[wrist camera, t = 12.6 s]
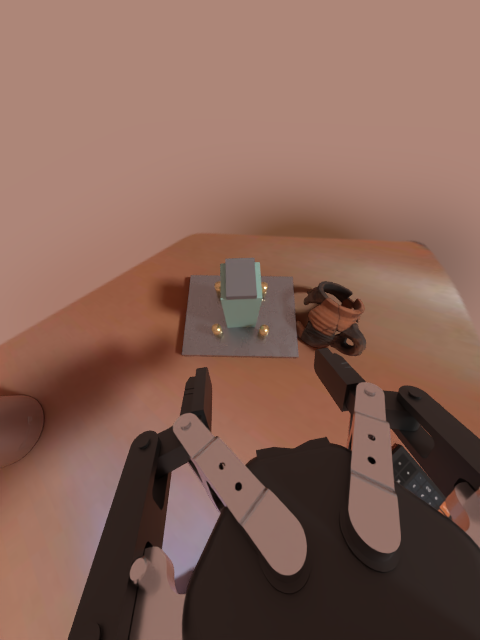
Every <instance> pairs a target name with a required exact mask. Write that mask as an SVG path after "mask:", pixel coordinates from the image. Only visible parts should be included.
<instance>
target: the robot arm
mask: <svg viewBox="0 0 480 640" xmlns="http://www.w3.org/2000/svg"><path fill="white" fill-rule="evenodd" d="M314 369H315V372H316V374H317V376H318V377H319V379H320V380H321V382H322V383H323V384H324V386H325V387H326V389H327V390H328V392H329V393H330V395H331V396H332V398H333V399H334V401H335V402H336V404H337V405H338V407H339V408H340V410H341V411H342V412H343V411H349V412H350V421H349V430H348V440H347V447H346V448H345V447H343V446H340V445H337V444H333V443H330V442H329V440H328V439H327V437H325V438H319V439H314V440H309V441H307V442H305V443H304V444H302V445H300V446H298V447H296V448H293V449H290V448H279V447H271V448H266V449H261V450H256V454H257V457H255V458H253V459H252V460H250V461H249V462H248V463H247V464H246V465H244V464H243V463H242V462H241V460H240V459H239V458H238V457H237V456H236V455H235V454H234V453H233V452H232V451H231V449H230V448H229V447H228V446H227V445H226V444H225V443H224V442H223V441H222V440H221V439H220V438H219V437H218V436H216V437H215V436H214V435H213V434H212V433H211V421H212V384H211V380H210V376H209V372H208V368H207V367H204V368H198V369H196V376H195V377H190V378H189V380H188V381H187V382H186V386H185V391H184V397H183V402H182V407H181V413H180V417H179V418H177V420H176V421H175V423H174V425H173V426H172V427H170V428H169V429H167V430H165V431H163V432H160V433H158V434H157V433H156V432H154V431H146V432H144V433H142V434H140V435H139V436H138V437H137V438H136V439H135V440H134V441H133V443H132V444H131V447H130V450H129V453H128V456H127V459H126V462H125V465H124V468H123V471H122V475H121V478H120V481H119V484H118V487H117V490H116V493H115V496H114V499H113V502H112V505H111V508H110V511H109V514H108V517H107V520H106V524H105V527H104V530H103V533H102V536H101V539H100V542H99V545H98V548H97V551H96V554H95V557H94V560H93V563H92V566H91V569H90V573H89V576H88V579H87V582H86V585H85V588H84V591H83V594H82V597H81V600H80V603H79V606H78V609H77V612H76V615H75V618H74V622H73V625H72V628H71V631H70V634H69V637H68V640H480V439H479V438H478V437H477V436H476V435H474V434H473V433H472V432H471V431H470V430H469V429H467V428H466V427H465V426H464V425H463V424H462V423H461V422H459V421H458V420H457V419H456V418H455V417H454V416H452V415H451V414H450V413H449V412H448V411H447V410H445V409H444V408H443V407H442V406H441V405H440V404H439V403H437V402H436V401H435V400H434V399H433V398H432V397H430V396H429V395H428V394H427V393H426V392H424V391H423V390H421V389H419V388H416V387H413V386H402V387H400V388H399V391H398V392H393V391H383V390H382V389H381V388H379V387H378V386H376V385H374V384H372V383H368V382H365V380H364V379H363V378H362V377H361V376H360V375H359V374H358V373H357V372H356V371H355V370H354V369H353V368H352V367H351V366H350V365H349V364H348V363H347V362H346V361H345V359H344V358H343V357H341V356H339V355H338V354H336V353H334V354H332V352H331V351H330V350H329V349H328V348H321V349H316V350H315V360H314ZM43 423H44V415H43V410H42V407H41V405H40V404H39V403H38V401H37V400H36V399H34V398H32V397H30V396H26V395H14V396H0V468H2V467H5V466H7V465H10V464H12V463H15V462H16V461H18V460H20V459H21V458H23V457H24V456H25V455H26V454H27V453H28V452H29V451H30V450H31V449H32V447H33V446H34V445H35V443H36V442H37V440H38V438H39V436H40V434H41V431H42V428H43ZM390 429H392V430H393V431H394V433H395V434H396V435H397V436H398V438H399V439H400V440H401V441H402V443H403V444H404V445H405V447H406V448H407V449H408V450H409V452H410V453H411V454H412V455H413V457H414V458H415V459H416V461H417V462H418V463H419V464H420V466H421V467H422V468H423V469H424V471H425V472H426V473H427V474H428V476H429V477H430V478H431V480H432V481H433V482H434V483H435V485H436V486H437V487H438V488H439V490H440V491H441V492H442V494H443V495H444V496H445V497H446V507H447V509H448V511H449V513H450V515H451V516H452V520H451V519H449V518H448V517H447V516H445V515H444V514H442V513H441V512H439V511H438V510H436V509H435V508H434V507H432V506H431V505H429V504H428V503H426V502H425V501H423V500H422V499H420V498H419V497H418V496H416V495H415V494H413V493H412V492H410V491H409V490H407V489H406V488H405V487H403V486H402V485H400V484H399V483H397V482H396V481H394V476H393V463H392V450H391V437H390ZM424 429H425V430H426V431H427V432H428V433H429V434H430V435H431V436H430V435H429V434H428V433H427V432H426V431H425V430H424ZM187 462H188V464H189V465H190V467H191V469H192V470H193V472H194V473H195V475H196V476H197V478H198V479H199V481H200V482H201V484H202V485H203V487H204V489H205V490H206V492H207V494H208V496H209V498H210V499H211V501H212V502H213V504H214V506H215V507H216V509H217V510H218V512H219V513H220V516H219V518H218V520H217V522H216V524H215V527H214V529H213V531H212V533H211V535H210V537H209V539H208V541H207V544H206V546H205V548H204V550H203V552H202V554H201V556H200V559H199V561H198V563H197V565H196V567H195V569H194V571H193V574H192V576H191V578H190V581H189V584H188V587H187V591H186V594H178V593H177V591H176V587H175V582H174V567H173V563H172V561H171V560H170V558H169V557H168V556H167V555H166V554H165V553H164V552H163V550H162V544H163V536H164V528H165V520H166V512H167V504H168V496H169V488H170V480H171V472H172V471H173V470H175V469H176V468H178V467H180V466H182V465H183V464H185V463H187Z"/></svg>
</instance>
